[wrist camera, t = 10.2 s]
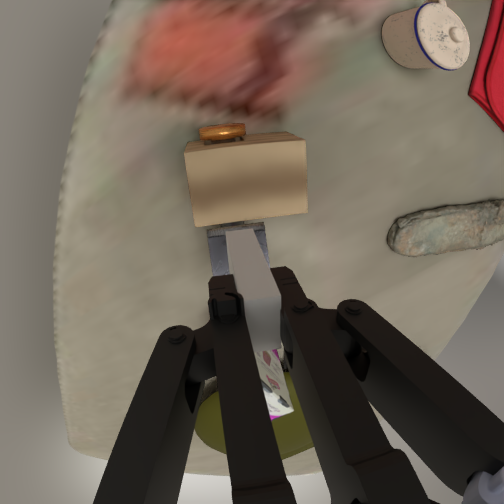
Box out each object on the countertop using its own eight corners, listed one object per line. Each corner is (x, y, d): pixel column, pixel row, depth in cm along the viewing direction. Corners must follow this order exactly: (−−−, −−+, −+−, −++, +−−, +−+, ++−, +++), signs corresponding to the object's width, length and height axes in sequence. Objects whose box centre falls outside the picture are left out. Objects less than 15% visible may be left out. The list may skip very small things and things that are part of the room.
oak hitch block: (187, 142, 37) (183, 153, 30) (286, 131, 38) (305, 140, 31) (196, 203, 41) (195, 227, 33) (289, 191, 42) (307, 212, 35)
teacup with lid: (421, 80, 36) (477, 85, 26) (372, 51, 34) (424, 44, 24) (437, 18, 31) (491, 11, 21) (390, -13, 29) (440, -32, 19)
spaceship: (357, 404, 69) (371, 435, 61) (253, 452, 74) (258, 482, 65) (297, 326, 53) (313, 368, 45) (161, 396, 58) (160, 436, 49)
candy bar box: (209, 305, 48) (215, 390, 34) (236, 289, 48) (252, 372, 33) (248, 346, 53) (264, 426, 39) (273, 333, 53) (296, 411, 38)
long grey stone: (384, 201, 46) (378, 255, 51) (400, 215, 42) (391, 273, 47) (518, 192, 47) (508, 234, 52) (534, 203, 43) (523, 246, 48)
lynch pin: (199, 127, 36) (198, 131, 31) (242, 122, 36) (247, 125, 32) (212, 226, 42) (213, 243, 38) (250, 221, 43) (257, 237, 38)
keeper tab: (206, 229, 34) (206, 229, 33) (262, 222, 34) (263, 221, 33) (218, 311, 34) (218, 313, 33) (273, 303, 35) (274, 305, 34)
